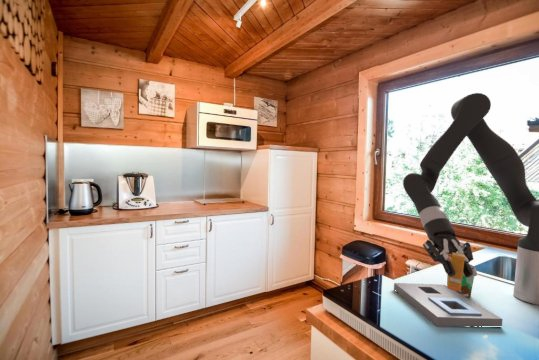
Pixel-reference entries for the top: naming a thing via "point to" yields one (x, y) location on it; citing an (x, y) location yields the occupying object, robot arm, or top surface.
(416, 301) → the board
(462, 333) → the top surface
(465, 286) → the food container
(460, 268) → the supplement box
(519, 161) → the robot arm
